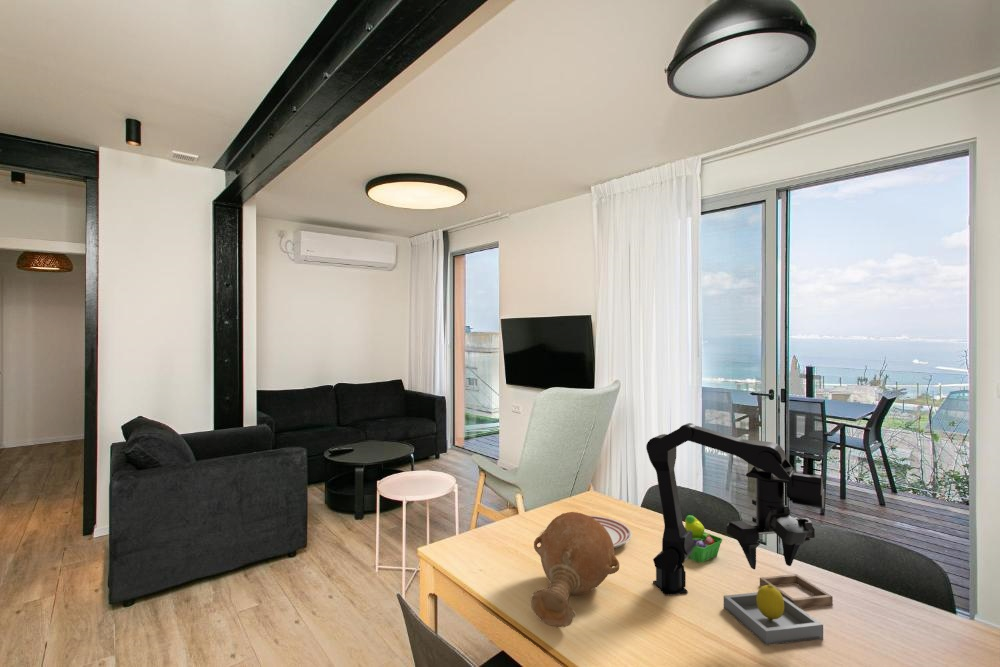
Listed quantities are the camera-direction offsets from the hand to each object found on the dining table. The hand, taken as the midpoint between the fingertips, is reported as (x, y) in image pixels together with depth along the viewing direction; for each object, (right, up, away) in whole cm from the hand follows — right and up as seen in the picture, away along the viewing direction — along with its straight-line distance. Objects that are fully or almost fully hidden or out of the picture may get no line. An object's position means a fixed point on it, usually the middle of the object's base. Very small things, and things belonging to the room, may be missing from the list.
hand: (770, 566), depth 106 cm
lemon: (0, -12, 0) cm, 12 cm away
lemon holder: (+13, -13, +12) cm, 22 cm away
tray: (0, -13, 0) cm, 13 cm away
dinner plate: (-33, -14, +45) cm, 58 cm away
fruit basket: (-2, -14, +33) cm, 36 cm away
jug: (-46, -13, +10) cm, 48 cm away
